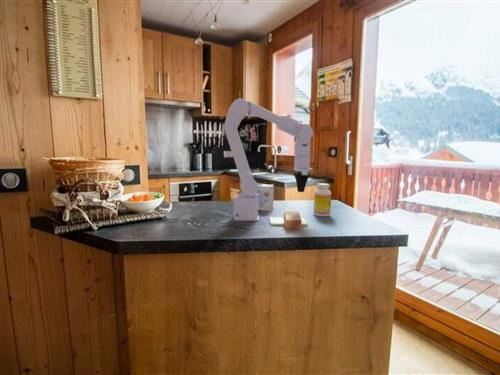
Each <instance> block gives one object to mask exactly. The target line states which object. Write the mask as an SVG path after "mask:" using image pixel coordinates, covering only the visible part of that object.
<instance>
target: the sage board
mask: <svg viewBox="0 0 500 375" xmlns="http://www.w3.org/2000/svg"><path fill="white" fill-rule="evenodd" d="M301 220H302V222H301V227H308V225H309V224H308V222H307V221H306V219H305V218H304V217H301ZM269 224H270V226H271V227H285V223H284V216H281V217H279V216H278V217H275V216H270V217H269Z"/></svg>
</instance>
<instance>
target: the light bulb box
mask: <svg viewBox="0 0 500 375" xmlns="http://www.w3.org/2000/svg"><path fill="white" fill-rule="evenodd" d="M257 184H258V186H259V190H258V192H257V194H258V211H267V212H270V211H272V210H273V209H274V197H275V196H274V189H275V188H274V186H275V184H267V183H257Z"/></svg>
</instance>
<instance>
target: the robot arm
mask: <svg viewBox="0 0 500 375" xmlns="http://www.w3.org/2000/svg"><path fill="white" fill-rule="evenodd" d="M246 116H247V118H249V117H250V118H251V117H259V118H261V119H262V120H265V121H268V122H270V123H272V124H275V126H276V128H277V129H278V130H279V131H282V132H283V133H285V134H288V135H290V136H294V138H295V144H294V165H293V166H294V167H293V171H296V173H293V176H294V179H295V182H296V189H297V192H298V193H304V192H305V190H306V189H305V188H306V185H307V182H308V179H309V178H310V175H311V174H310V173H309V172H310V171H313V168H312V167H311V166H310V164H311V138H313V135H314V130H313V128H312V126H311V125H310V124H307V123H303V121H302V120H297V119H295V118H293V117H292V115H290V114H282V115H278V114H276V113H274V112H272V111H270V110H268V109H266V108H264V107H262V106H261V105H259V104H257V103H254V102H252V101H250V100H249V101H248V100H246V99H244V98H236V99H235V100H234V101H233V102H232V103H231V104H230V107H228V111H227V114H226V117H225V121H224V124H223V129H224V132H225V136H226V138H227V141H228V145H229V148H230V151H231V153H232V157H233V159H234V163H235V166H236V169H237V172H238V175H239V178H240V181H239V182H240V183H239V186H240V189H241V192H240V193H239V195H234V196H233V211H232V212H233V213H232V215H233V221H240V222H241V221H243V222H244V221H248V222H249V221H251V222H252V221H254V222H257V221H258V222H259V221H260V216H259V210H258V194H257V192H258V190H259V186H258V184H259V183H258V182H257V181H256V180H255V179H254V176H253V174H252V171H251V168H250V165H249V162H248V159H247V155H246V152H245V149H244V146H243V142H242V140H241V137H240V133H239V131H238V128H239V126H240V124H241V122H242V120H243V119H244V118H245V117H246Z"/></svg>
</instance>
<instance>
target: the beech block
mask: <svg viewBox="0 0 500 375" xmlns="http://www.w3.org/2000/svg"><path fill="white" fill-rule="evenodd" d="M283 217H284V223H285V226H284V227H285V230H286V231H288V230H289V231H301V230H302V226H301V222H302V220H301V218H302V217H301V215H300V212H299V211H289V210H288V211H284V212H283Z"/></svg>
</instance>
